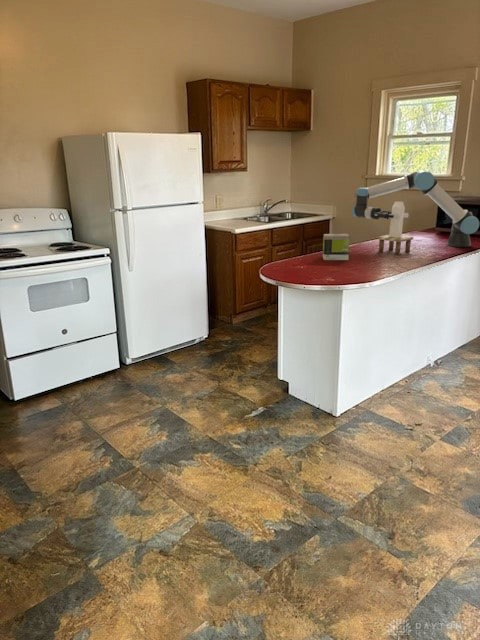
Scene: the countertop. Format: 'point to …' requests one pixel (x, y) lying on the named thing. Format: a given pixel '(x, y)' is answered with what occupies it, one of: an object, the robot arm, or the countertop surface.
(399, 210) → the milk
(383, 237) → the small table
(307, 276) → the countertop surface
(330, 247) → the tea box
